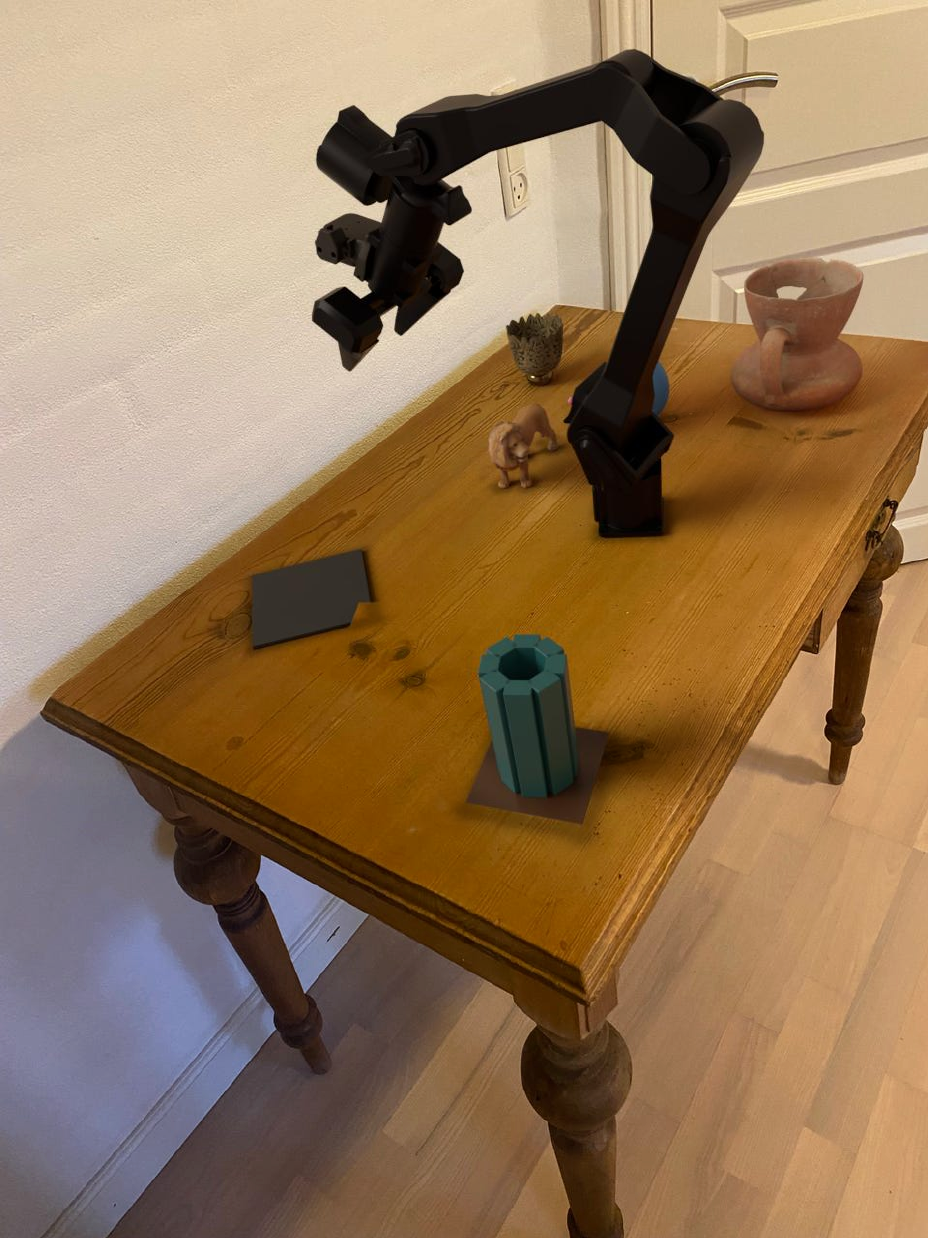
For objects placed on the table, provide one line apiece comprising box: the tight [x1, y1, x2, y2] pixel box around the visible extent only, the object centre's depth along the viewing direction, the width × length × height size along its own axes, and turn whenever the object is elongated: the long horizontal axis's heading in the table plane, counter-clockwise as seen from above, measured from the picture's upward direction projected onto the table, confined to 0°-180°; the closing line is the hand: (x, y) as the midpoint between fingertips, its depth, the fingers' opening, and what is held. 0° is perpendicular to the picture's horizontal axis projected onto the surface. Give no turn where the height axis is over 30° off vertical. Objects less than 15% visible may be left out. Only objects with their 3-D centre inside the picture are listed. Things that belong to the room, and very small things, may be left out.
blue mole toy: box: [567, 360, 670, 418], centre depth 105 cm, size 12×12×8 cm
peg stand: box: [465, 726, 610, 826], centre depth 67 cm, size 9×9×6 cm
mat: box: [251, 548, 372, 650], centre depth 91 cm, size 12×12×1 cm
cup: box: [505, 312, 564, 387], centre depth 117 cm, size 8×7×8 cm
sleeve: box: [477, 633, 579, 798], centre depth 65 cm, size 6×6×11 cm
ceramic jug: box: [729, 257, 864, 413], centre depth 101 cm, size 18×14×14 cm
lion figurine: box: [487, 402, 558, 489], centre depth 100 cm, size 15×5×9 cm, turn 162°
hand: (373, 350), depth 99 cm, fingers open, 9 cm apart
